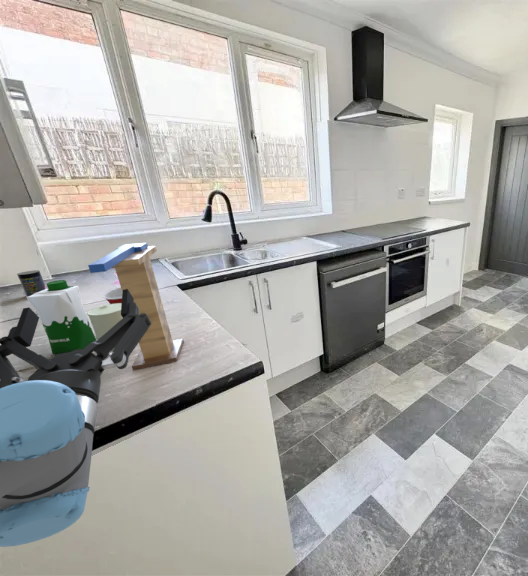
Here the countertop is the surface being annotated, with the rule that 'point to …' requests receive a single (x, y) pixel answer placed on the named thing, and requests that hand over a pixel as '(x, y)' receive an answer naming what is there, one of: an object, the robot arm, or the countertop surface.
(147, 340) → the stand
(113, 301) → the plastic cup
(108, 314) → the can
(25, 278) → the supplement container
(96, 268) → the blue long flat bar
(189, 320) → the countertop surface
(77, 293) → the milk carton
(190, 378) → the countertop surface
